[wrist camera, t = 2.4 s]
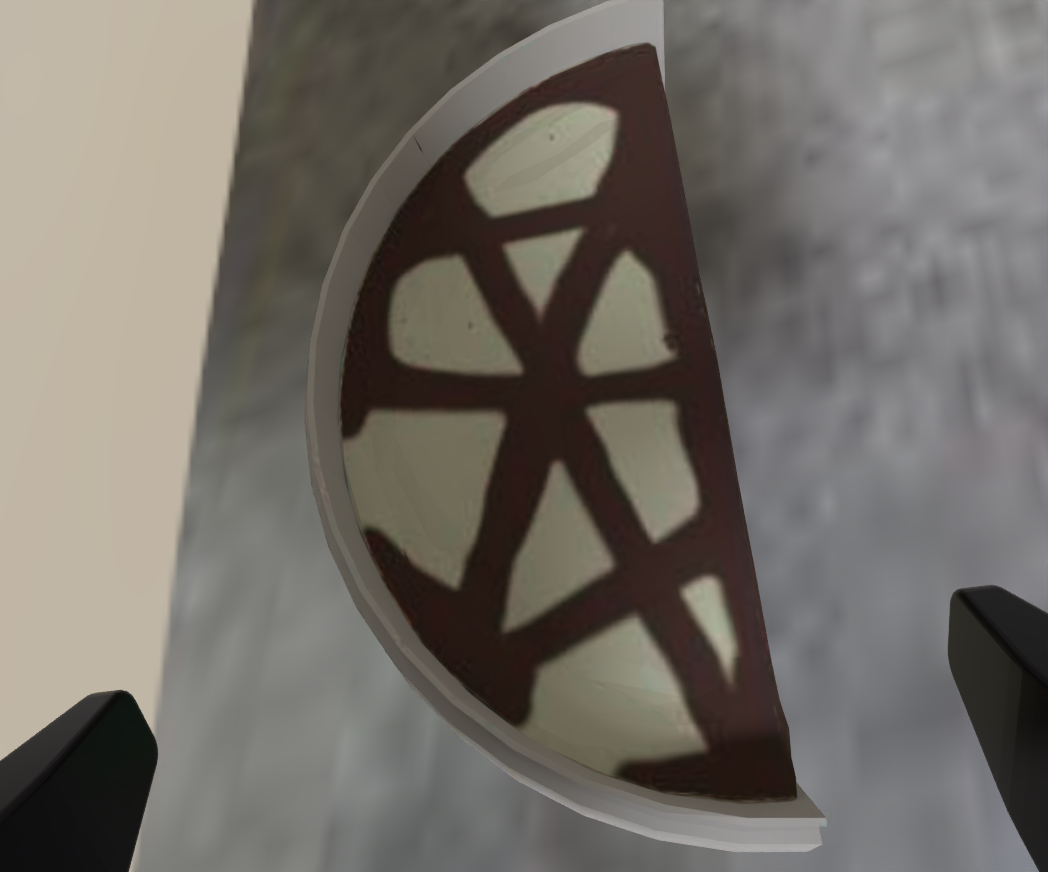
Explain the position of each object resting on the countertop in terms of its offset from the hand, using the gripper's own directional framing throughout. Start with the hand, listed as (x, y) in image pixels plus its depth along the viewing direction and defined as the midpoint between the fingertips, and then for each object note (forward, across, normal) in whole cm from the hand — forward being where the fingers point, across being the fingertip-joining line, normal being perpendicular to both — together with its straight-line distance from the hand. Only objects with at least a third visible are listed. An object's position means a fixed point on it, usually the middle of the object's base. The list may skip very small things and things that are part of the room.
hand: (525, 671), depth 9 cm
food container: (+10, 0, +5) cm, 11 cm away
